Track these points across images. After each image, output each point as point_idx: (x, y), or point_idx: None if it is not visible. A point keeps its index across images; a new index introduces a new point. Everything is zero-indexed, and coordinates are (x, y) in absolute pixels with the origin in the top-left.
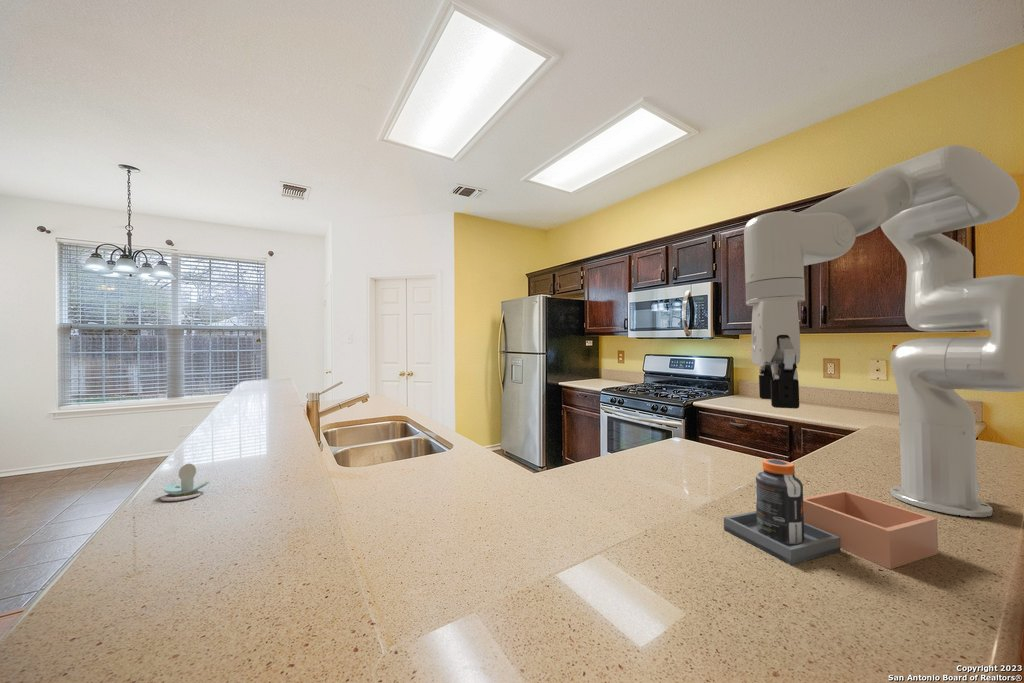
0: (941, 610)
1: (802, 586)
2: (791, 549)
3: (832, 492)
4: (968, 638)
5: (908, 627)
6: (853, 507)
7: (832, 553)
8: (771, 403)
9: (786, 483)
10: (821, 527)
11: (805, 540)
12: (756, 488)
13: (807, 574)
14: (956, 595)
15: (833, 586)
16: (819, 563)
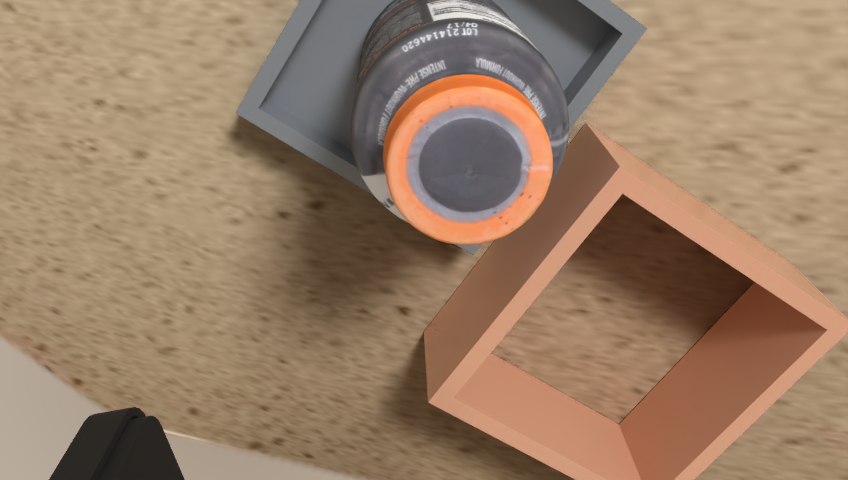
0: (261, 387)
1: (124, 126)
2: (243, 115)
3: (794, 289)
4: (167, 404)
5: (116, 321)
6: (778, 321)
7: None
8: (111, 423)
9: (367, 177)
10: (543, 207)
11: None
12: (433, 15)
13: (217, 141)
14: (369, 425)
15: (195, 199)
16: (327, 174)
